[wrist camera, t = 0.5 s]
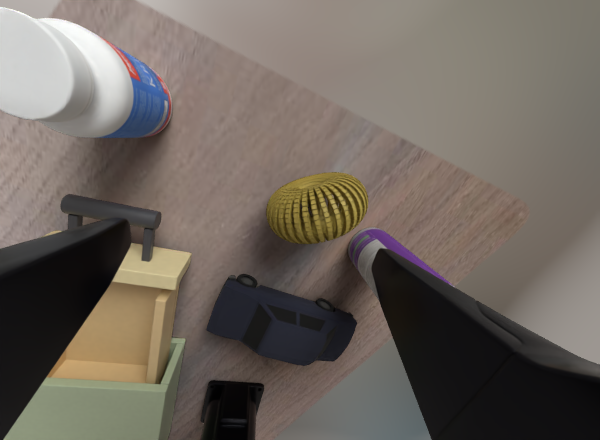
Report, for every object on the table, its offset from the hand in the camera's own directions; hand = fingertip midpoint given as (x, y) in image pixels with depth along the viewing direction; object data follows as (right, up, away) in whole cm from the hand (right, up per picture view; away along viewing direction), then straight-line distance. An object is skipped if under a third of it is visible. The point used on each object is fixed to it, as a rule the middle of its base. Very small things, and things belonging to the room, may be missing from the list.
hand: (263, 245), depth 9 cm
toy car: (0, -9, +18) cm, 20 cm away
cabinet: (-18, -17, +18) cm, 31 cm away
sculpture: (+2, +3, +14) cm, 15 cm away
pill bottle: (-11, +10, +10) cm, 18 cm away
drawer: (-15, -5, +14) cm, 21 cm away
